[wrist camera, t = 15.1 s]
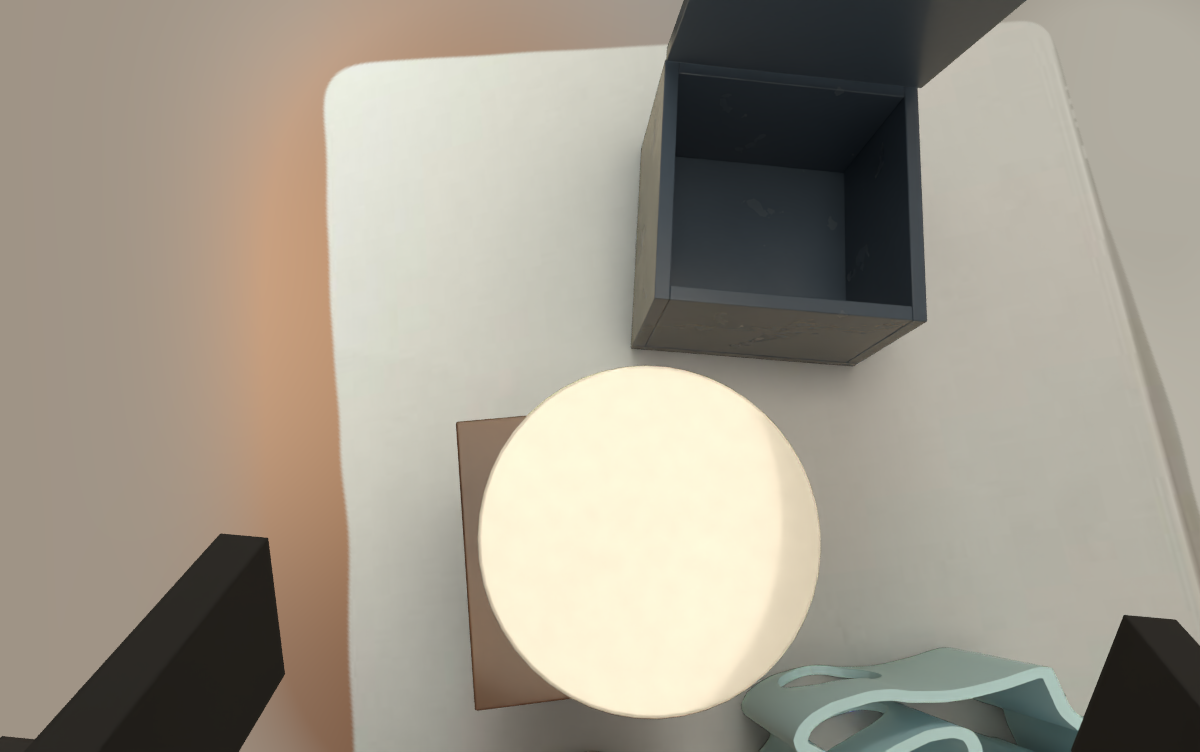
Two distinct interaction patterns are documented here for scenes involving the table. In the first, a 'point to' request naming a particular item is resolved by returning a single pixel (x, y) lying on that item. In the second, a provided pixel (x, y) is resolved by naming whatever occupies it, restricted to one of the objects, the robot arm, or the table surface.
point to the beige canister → (649, 542)
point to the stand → (493, 657)
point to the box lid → (835, 36)
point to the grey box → (778, 217)
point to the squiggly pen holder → (905, 735)
